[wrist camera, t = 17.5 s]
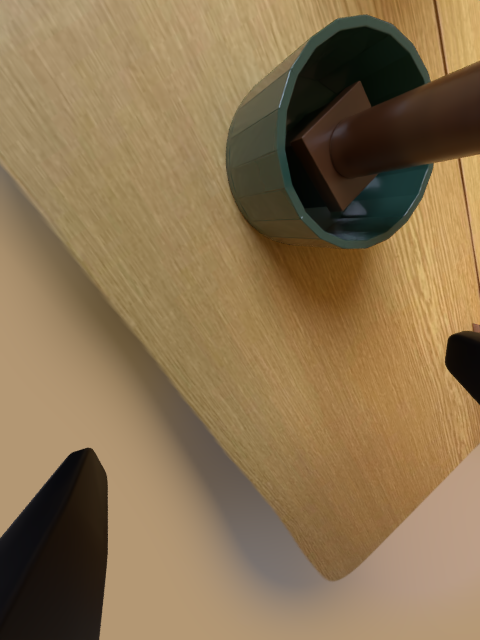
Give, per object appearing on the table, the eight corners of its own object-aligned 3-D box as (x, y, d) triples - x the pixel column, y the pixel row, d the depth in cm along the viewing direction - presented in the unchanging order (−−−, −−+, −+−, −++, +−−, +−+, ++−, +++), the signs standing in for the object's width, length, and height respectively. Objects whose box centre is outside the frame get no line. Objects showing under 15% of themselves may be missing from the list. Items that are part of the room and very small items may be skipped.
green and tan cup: (277, 273, 21) (335, 287, 16) (192, 131, 16) (234, 91, 12) (375, 189, 22) (455, 178, 17) (319, 40, 18) (404, -30, 13)
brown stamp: (296, 214, 19) (656, 191, 7) (258, 156, 18) (656, -14, 5) (340, 170, 20) (747, 76, 8) (307, 108, 18) (776, -149, 6)
